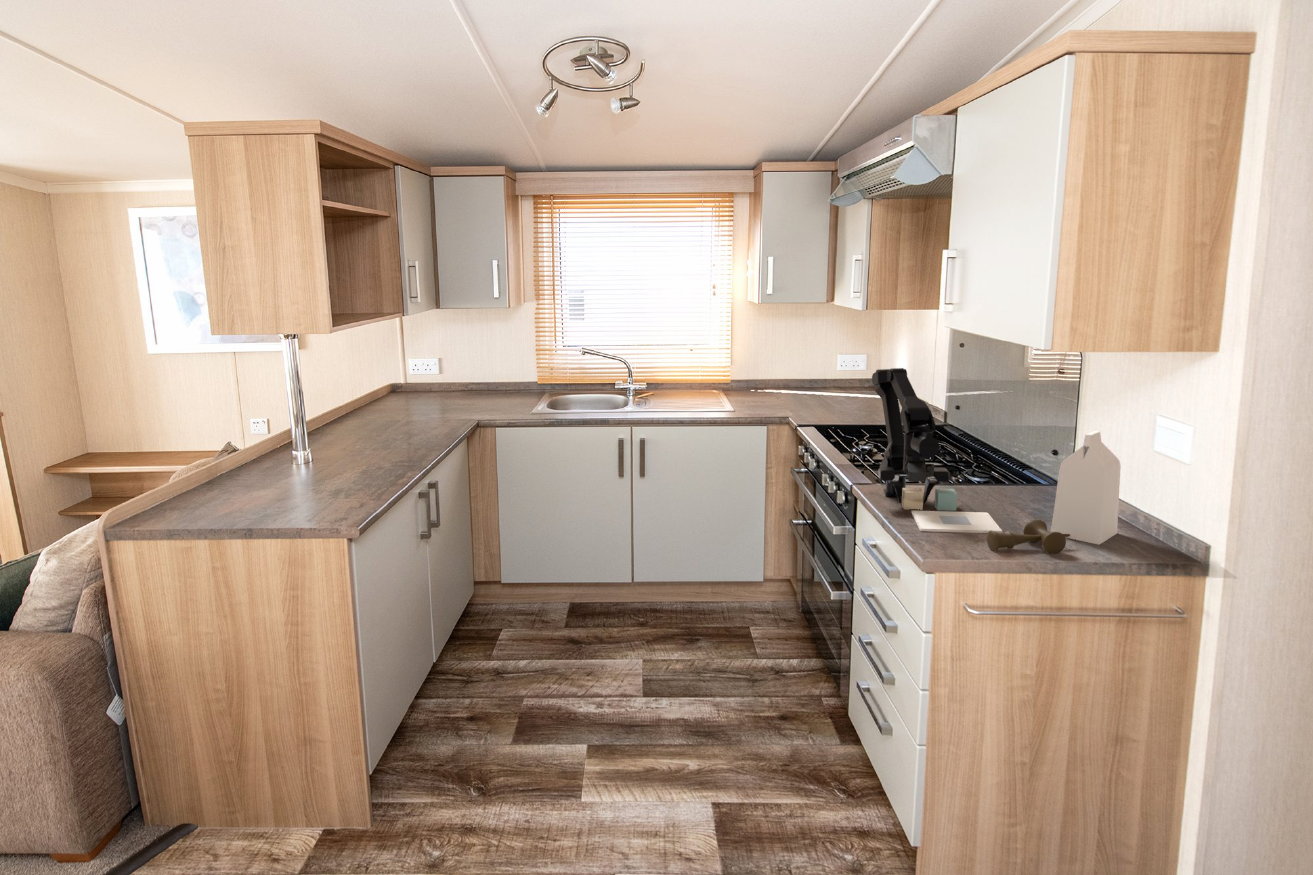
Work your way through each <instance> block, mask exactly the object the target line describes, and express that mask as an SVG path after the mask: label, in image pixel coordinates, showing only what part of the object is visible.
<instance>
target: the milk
mask: <svg viewBox="0 0 1313 875" xmlns="http://www.w3.org/2000/svg"><path fill="white" fill-rule="evenodd" d="M1082 443H1083V444H1082V445H1083V446H1081V447H1079V448H1078V449H1077V450H1075V451H1074V452H1073V453H1071V454H1070V455H1068V456H1067V457H1065V458H1064V459H1063V460H1062V461H1061V463H1060V465H1059V469H1058V470H1059V472H1058V477H1057V483H1056V484H1057V485H1056V492H1055V500H1054V507H1053V512H1052V520H1051V527H1050V532H1060V533H1062V534H1070V536H1068V537H1065V538H1066V539H1072V540H1075V539H1076V541H1080V542H1085V543H1090V544H1094V545H1101V544H1103V543H1104V542H1106V541H1107V540H1109V539H1111V538H1112V537H1114V536H1115V535H1117V534H1118V522H1119V505H1120V504H1119V502H1120V483H1121V481H1120V480H1121V462H1120V459H1119V458H1118V457H1117V456H1116V455H1115V454H1114V452H1112V450H1110V449H1109V448H1108V446H1106V445H1105V444H1104V442H1102V436H1101V431H1099V430H1093V431H1091V432H1088V433H1085V435H1084V439H1083V442H1082Z"/></svg>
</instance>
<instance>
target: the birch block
mask: <svg viewBox="0 0 1313 875" xmlns="http://www.w3.org/2000/svg"><path fill="white" fill-rule="evenodd" d="M923 496H924V491H923V490H922V488H921V487H906V488H902V497H901V505H902V508H903V510H909V509H918V510H917V511H924V509H923V507H924V506H923V505H924V503H923ZM919 509H920V510H919Z"/></svg>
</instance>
